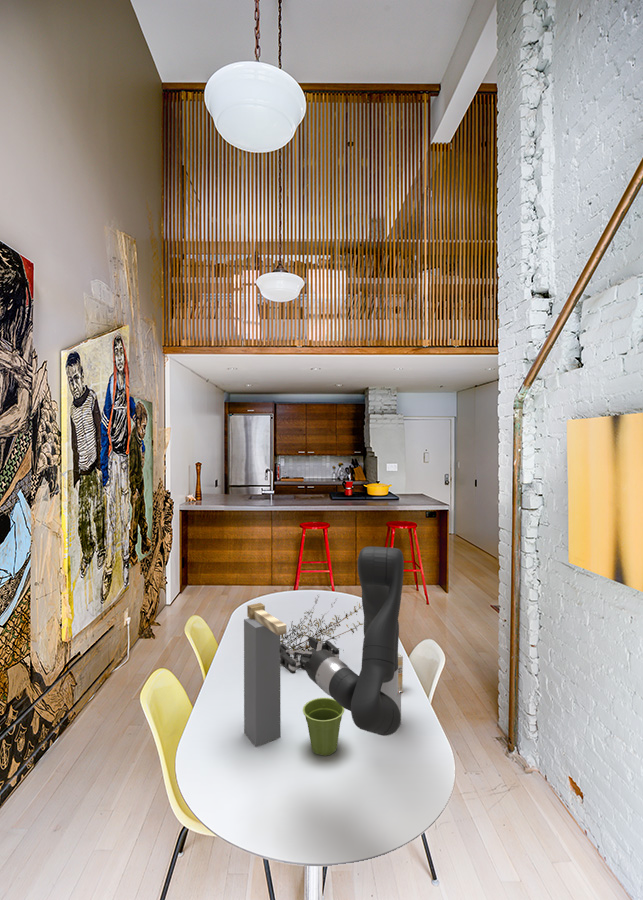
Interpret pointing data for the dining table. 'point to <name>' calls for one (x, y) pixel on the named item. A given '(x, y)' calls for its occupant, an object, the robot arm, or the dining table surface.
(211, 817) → the dining table surface
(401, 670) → the supplement box
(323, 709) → the plant pot
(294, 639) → the dried plant
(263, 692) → the plinth
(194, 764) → the dining table surface
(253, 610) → the hanging bar
